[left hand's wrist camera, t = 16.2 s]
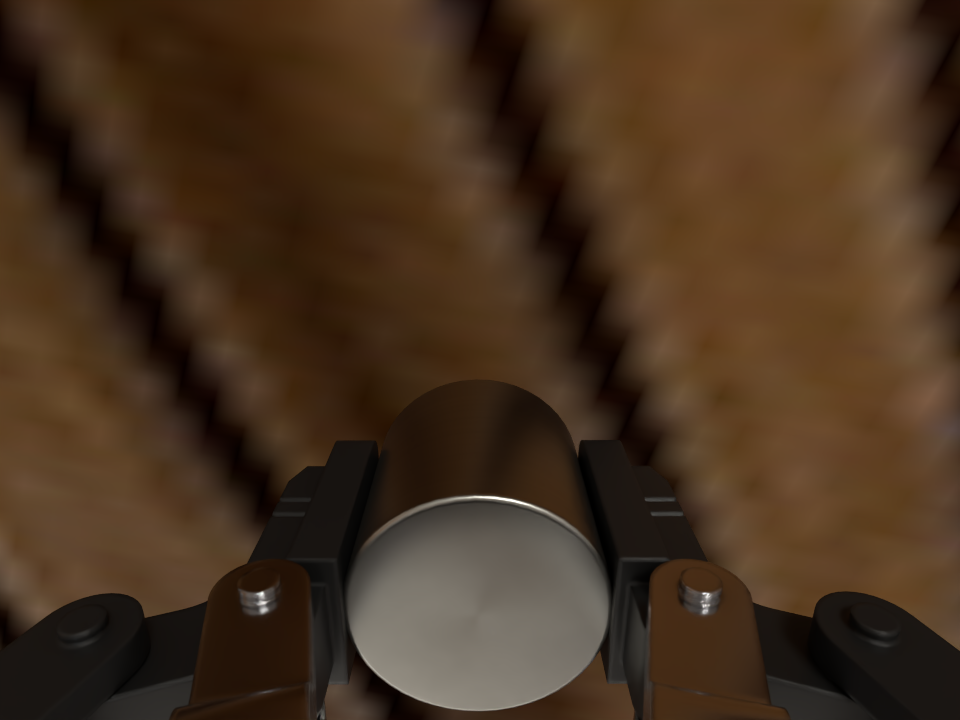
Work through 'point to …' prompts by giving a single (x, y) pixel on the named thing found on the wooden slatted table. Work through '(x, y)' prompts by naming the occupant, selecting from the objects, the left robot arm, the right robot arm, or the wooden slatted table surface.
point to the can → (478, 553)
